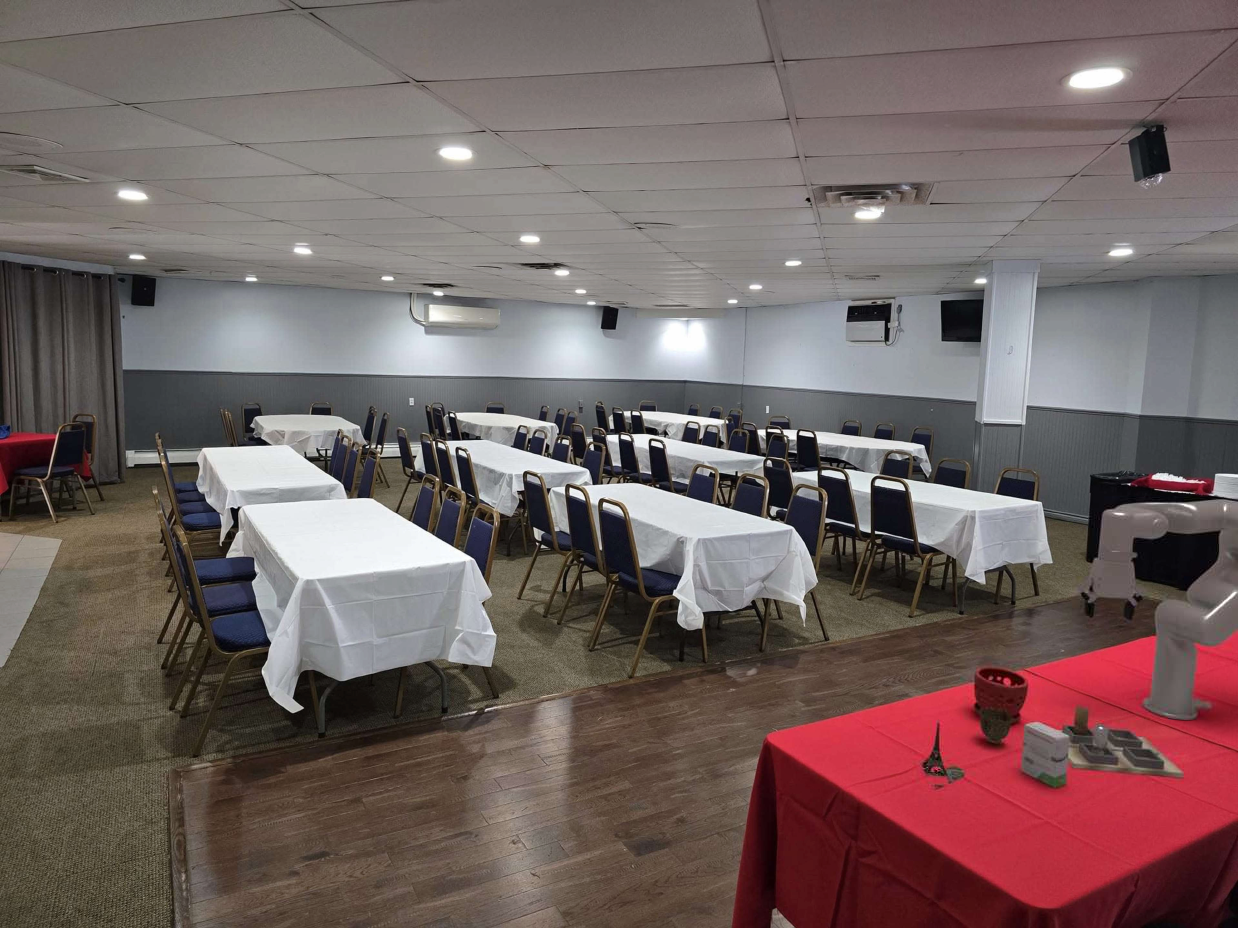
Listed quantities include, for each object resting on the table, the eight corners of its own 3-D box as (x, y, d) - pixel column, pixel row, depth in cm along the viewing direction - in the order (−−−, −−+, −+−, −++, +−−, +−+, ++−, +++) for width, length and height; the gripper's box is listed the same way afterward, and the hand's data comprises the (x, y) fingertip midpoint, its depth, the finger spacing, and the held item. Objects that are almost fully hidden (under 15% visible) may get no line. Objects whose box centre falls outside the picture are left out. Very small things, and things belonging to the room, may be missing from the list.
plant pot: (972, 722, 210) (976, 679, 208) (970, 703, 222) (974, 663, 220) (1027, 731, 205) (1031, 688, 204) (1022, 711, 217) (1025, 670, 216)
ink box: (1067, 784, 179) (1072, 735, 178) (1053, 788, 177) (1057, 739, 176) (1033, 766, 187) (1037, 719, 186) (1019, 770, 185) (1023, 723, 183)
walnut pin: (1082, 735, 201) (1086, 706, 199) (1088, 741, 198) (1091, 711, 196) (1070, 735, 201) (1073, 705, 200) (1075, 740, 198) (1078, 710, 197)
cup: (1013, 751, 194) (1016, 720, 193) (981, 747, 196) (984, 717, 195) (1005, 737, 202) (1007, 707, 201) (974, 734, 203) (976, 704, 202)
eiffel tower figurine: (936, 792, 176) (940, 736, 174) (897, 772, 184) (901, 718, 182) (974, 774, 184) (978, 720, 182) (935, 756, 192) (939, 704, 191)
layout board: (1143, 741, 201) (1147, 707, 200) (1183, 777, 183) (1187, 740, 182) (1044, 733, 204) (1047, 699, 203) (1073, 767, 187) (1076, 731, 186)
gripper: (1142, 554, 212) (1136, 615, 214) (1074, 550, 215) (1068, 610, 217) (1157, 560, 205) (1150, 623, 207) (1086, 557, 207) (1080, 619, 209)
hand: (1108, 617), depth 212 cm, fingers open, 9 cm apart
